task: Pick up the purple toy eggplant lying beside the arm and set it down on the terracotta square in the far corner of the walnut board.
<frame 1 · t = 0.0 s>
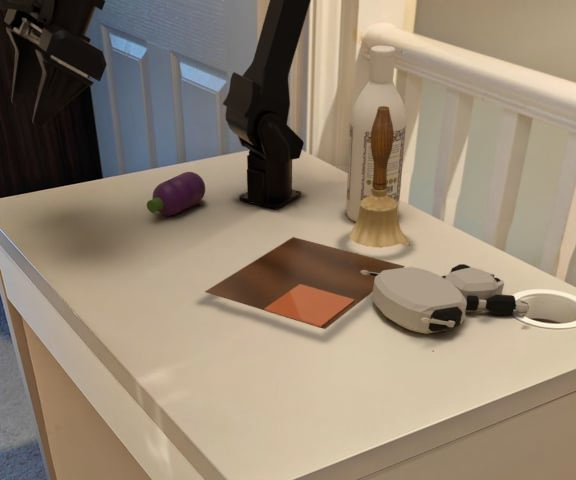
hand: (25, 114, 94), 15 cm above the table, tool tilted 35°, fingers open, 9 cm apart
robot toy: (441, 318, 89), on the table
hand bell: (376, 246, 103), on the table
bath foam: (371, 217, 111), on the table
board: (307, 288, 94), on the table
corner square: (310, 305, 88), resting on board
eggplant: (180, 209, 112), on the table
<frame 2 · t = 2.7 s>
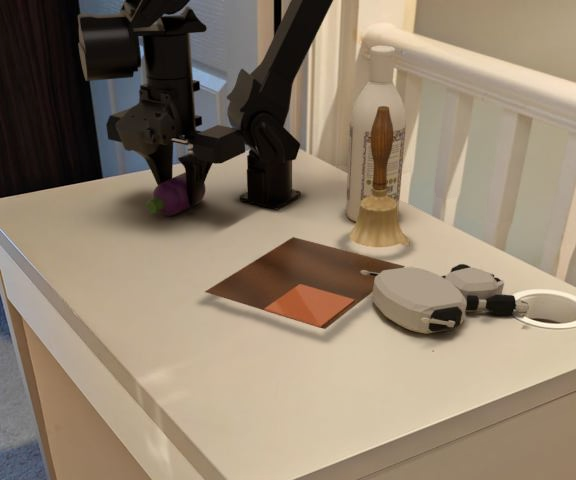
hand: (179, 201, 112), 1 cm above the table, tool pointing down, fingers closed on eggplant, 4 cm apart
eggplant: (180, 209, 112), on the table, touching gripper
everything else where it was.
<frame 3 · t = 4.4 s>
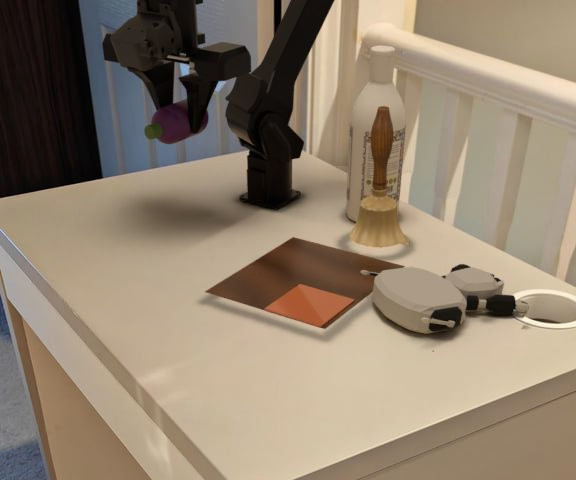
hand: (180, 130, 104), 11 cm above the table, tool pointing down, fingers closed on eggplant, 4 cm apart
eggplant: (181, 138, 104), point 10 cm above the table, touching gripper
everything else where it was.
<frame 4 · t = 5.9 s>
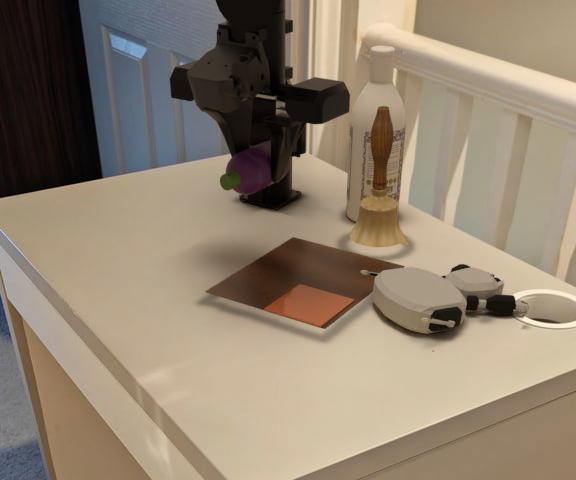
hand: (259, 177, 89), 11 cm above the table, tool pointing down, fingers closed on eggplant, 4 cm apart
eggplant: (258, 187, 89), point 10 cm above the table, touching gripper
everything else where it was.
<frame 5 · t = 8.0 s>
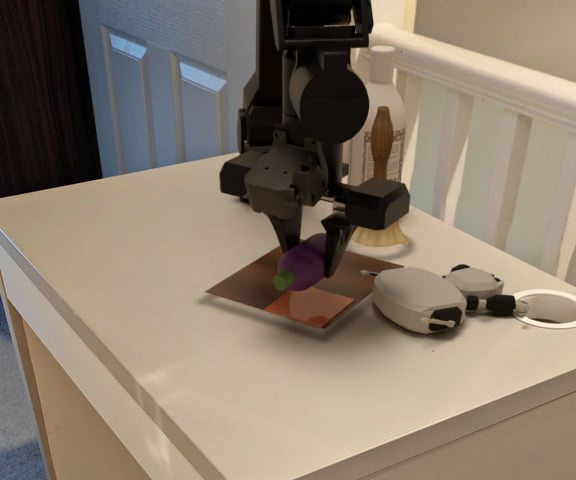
hand: (310, 271, 86), 5 cm above the table, tool pointing down, fingers closed on eggplant, 4 cm apart
eggplant: (309, 280, 86), point 4 cm above the table, touching gripper
everything else where it was.
when the fingers open (2 cm above the table, at t = 9.1 s): eggplant stays where it is, resting on corner square.
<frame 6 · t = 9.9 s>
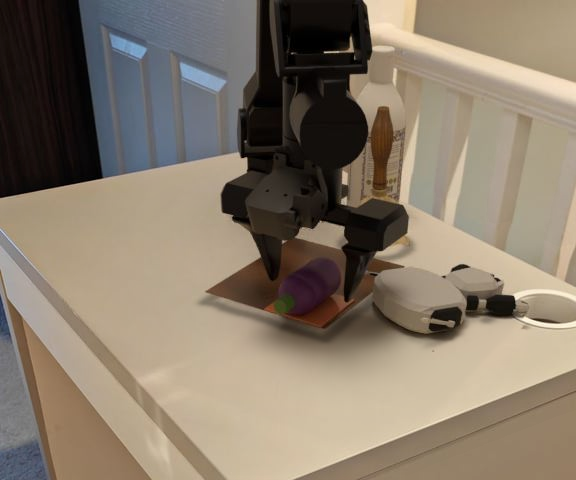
hand: (310, 290, 87), 3 cm above the table, tool pointing down, fingers open, 9 cm apart
eggplant: (309, 304, 88), point 1 cm above the table, touching corner square
everything else where it was.
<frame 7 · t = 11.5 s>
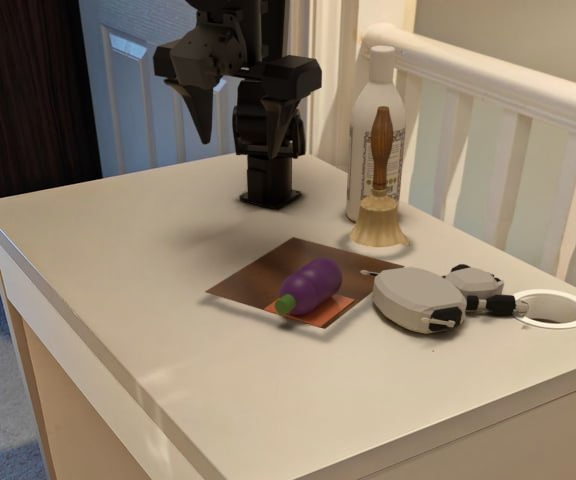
hand: (238, 150, 95), 12 cm above the table, tool pointing down, fingers open, 9 cm apart
nothing on the table moved.
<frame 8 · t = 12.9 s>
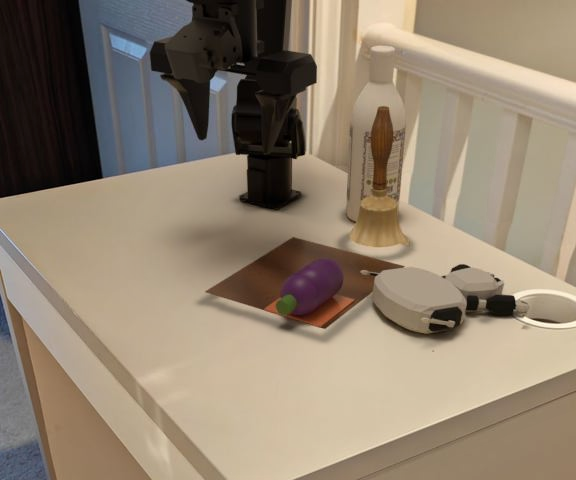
hand: (234, 146, 95), 12 cm above the table, tool pointing down, fingers open, 9 cm apart
nothing on the table moved.
at the end: eggplant inside the target area on the corner square (0.1 cm from its centre), point 0.2 cm above the corner square's base; the gripper is holding nothing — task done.
